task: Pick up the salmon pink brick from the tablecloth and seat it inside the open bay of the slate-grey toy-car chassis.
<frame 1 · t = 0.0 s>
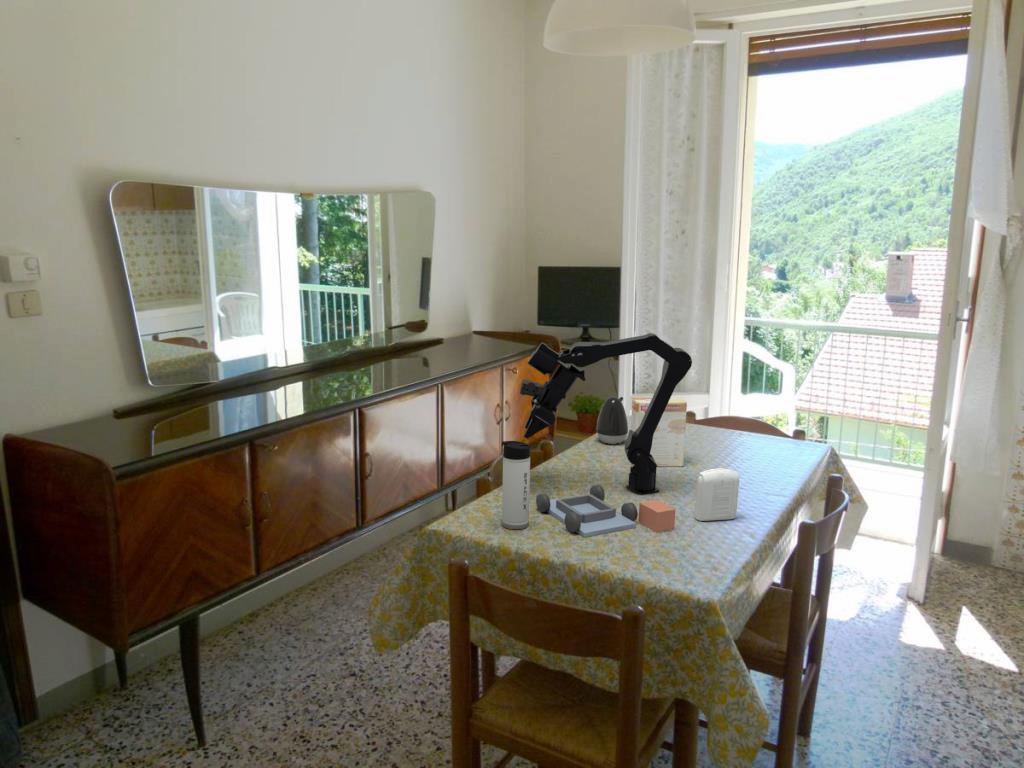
hand: (525, 433, 200), 15 cm above the table, tool tilted 35°, fingers open, 9 cm apart
chassis: (585, 516, 183), on the table
coffeecake box: (655, 464, 226), on the table
travel mug: (514, 525, 177), on the table
dark grey tapered dome: (611, 442, 248), on the table
photo printer: (715, 519, 183), on the table
salmon pink brick: (656, 526, 178), on the table
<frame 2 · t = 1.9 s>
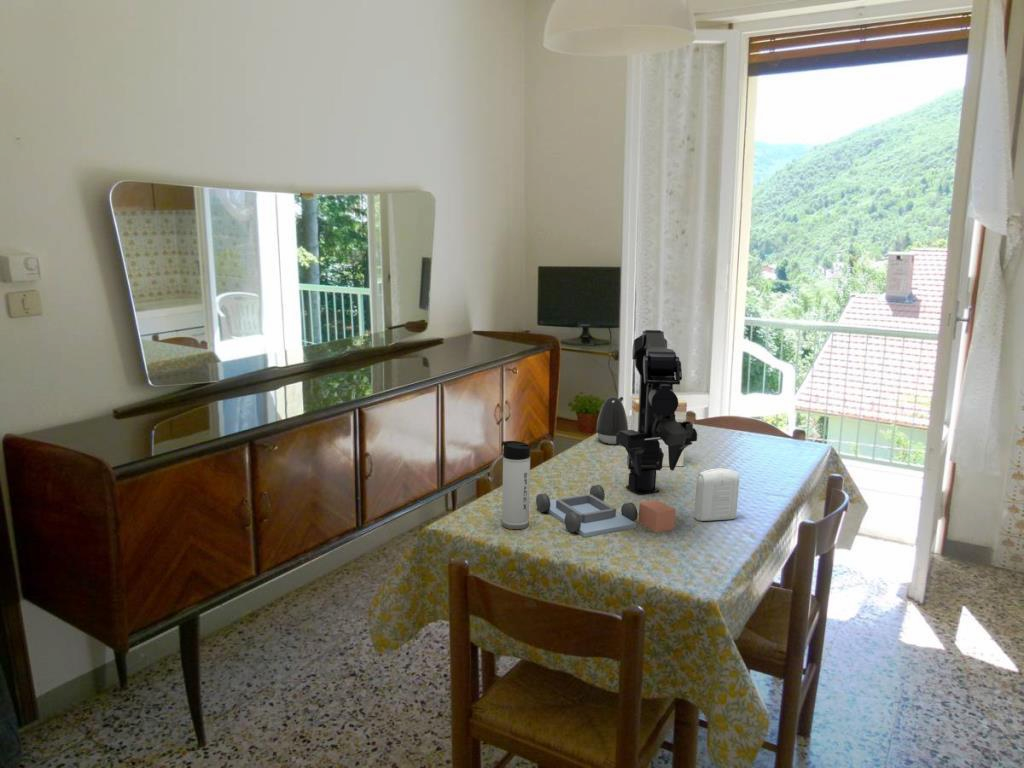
hand: (655, 472, 175), 13 cm above the table, tool pointing down, fingers open, 9 cm apart
nothing on the table moved.
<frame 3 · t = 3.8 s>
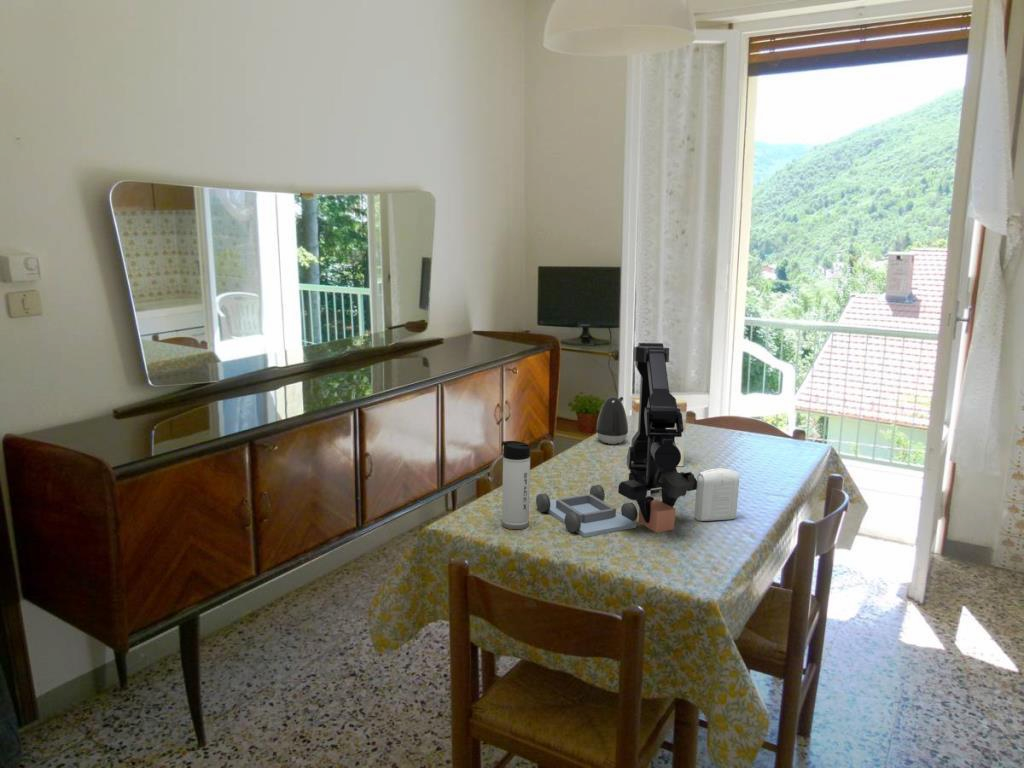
hand: (656, 520, 177), 1 cm above the table, tool pointing down, fingers closed on salmon pink brick, 5 cm apart
salmon pink brick: (656, 525, 178), on the table, touching gripper
everything else where it was.
when the fingers open (3 cm above the table, at t = 8.7 s): salmon pink brick drops 1 cm, resting on chassis.
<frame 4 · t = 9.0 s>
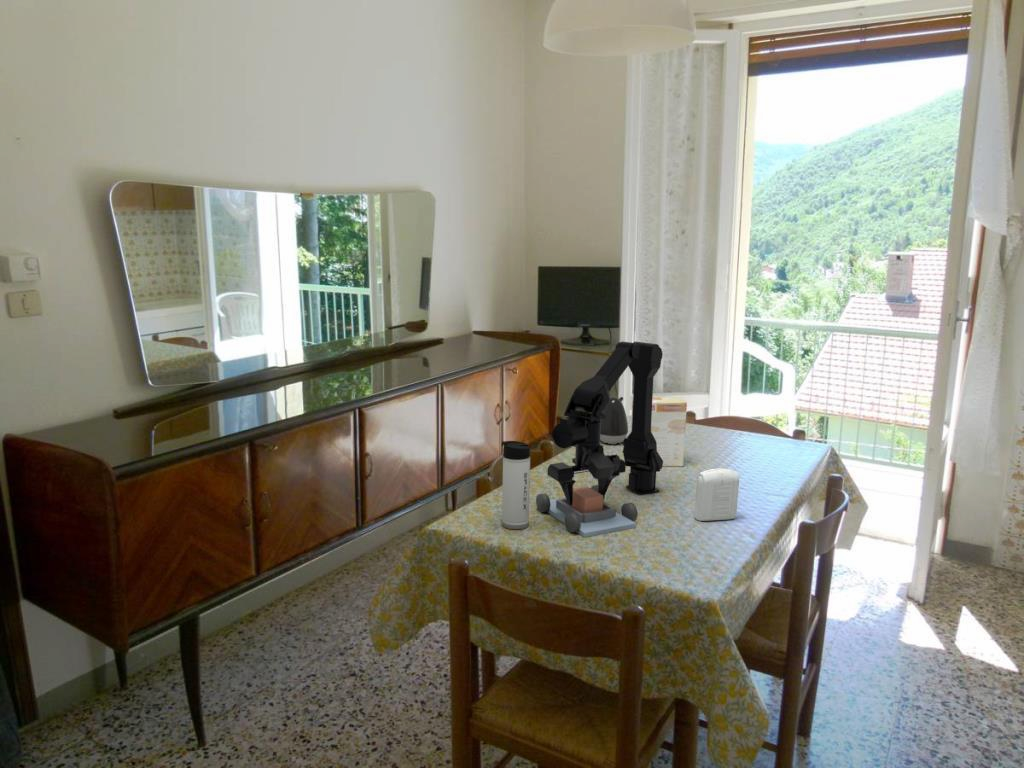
hand: (585, 502, 182), 3 cm above the table, tool pointing down, fingers open, 8 cm apart
salmon pink brick: (585, 512, 183), point 1 cm above the table, touching chassis
everything else where it was.
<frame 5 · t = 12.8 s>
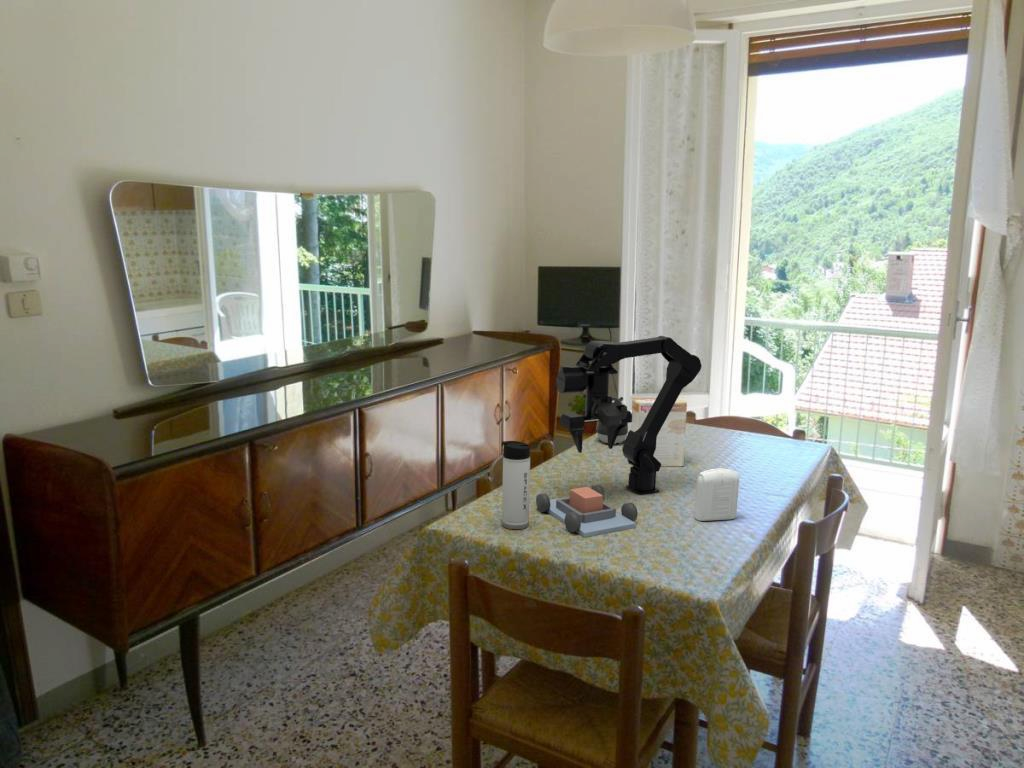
hand: (595, 450, 195), 12 cm above the table, tool pointing down, fingers open, 9 cm apart
nothing on the table moved.
at the end: salmon pink brick 0.0 cm off-centre on the chassis, point 1.0 cm above the chassis's base; salmon pink brick tilted 0°; the gripper is holding nothing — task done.
